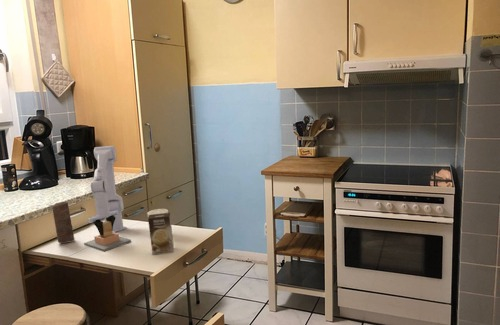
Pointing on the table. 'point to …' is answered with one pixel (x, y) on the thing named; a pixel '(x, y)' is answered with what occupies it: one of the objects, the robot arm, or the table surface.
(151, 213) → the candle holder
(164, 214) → the coffee box
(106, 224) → the oak peg
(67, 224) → the brown tall block
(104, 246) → the collar board
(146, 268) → the table surface
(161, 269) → the table surface
